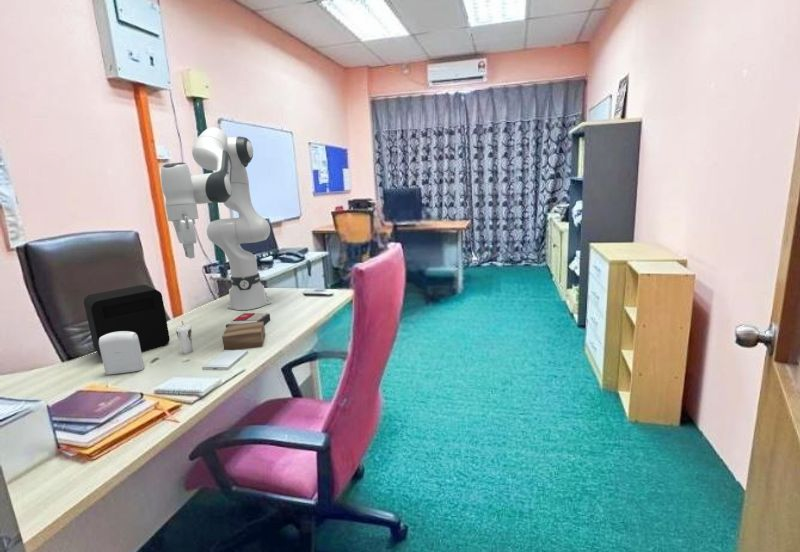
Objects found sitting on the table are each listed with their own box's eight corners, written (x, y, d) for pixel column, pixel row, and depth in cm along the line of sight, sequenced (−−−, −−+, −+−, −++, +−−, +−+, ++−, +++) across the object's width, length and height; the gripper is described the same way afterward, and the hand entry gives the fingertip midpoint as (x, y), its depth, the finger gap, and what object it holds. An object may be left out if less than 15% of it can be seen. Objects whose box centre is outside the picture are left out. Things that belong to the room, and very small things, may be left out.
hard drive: (223, 350, 139) (201, 366, 127) (247, 350, 138) (227, 366, 126) (224, 354, 139) (202, 371, 127) (248, 354, 138) (228, 371, 126)
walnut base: (229, 338, 152) (227, 325, 151) (265, 334, 154) (263, 321, 153) (224, 351, 140) (221, 336, 139) (262, 346, 143) (260, 332, 142)
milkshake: (194, 347, 145) (189, 319, 143) (195, 352, 140) (190, 323, 138) (179, 350, 143) (174, 322, 141) (180, 356, 138) (174, 326, 136)
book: (269, 311, 170) (254, 322, 155) (271, 322, 171) (255, 333, 156) (243, 312, 171) (225, 323, 156) (244, 322, 172) (226, 334, 157)
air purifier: (158, 335, 160) (149, 282, 156) (171, 344, 150) (161, 288, 145) (93, 351, 146) (81, 295, 142) (103, 363, 136) (89, 302, 132)
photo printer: (103, 376, 126) (94, 336, 124) (110, 370, 130) (101, 331, 128) (141, 372, 128) (133, 332, 125) (146, 366, 132) (139, 327, 129)
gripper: (197, 212, 130) (204, 257, 132) (190, 214, 148) (197, 254, 150) (173, 214, 127) (182, 260, 129) (169, 216, 144) (177, 257, 147)
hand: (190, 257), depth 139 cm, fingers open, 8 cm apart
